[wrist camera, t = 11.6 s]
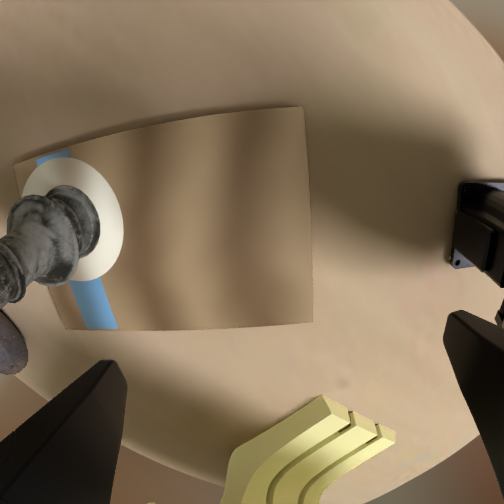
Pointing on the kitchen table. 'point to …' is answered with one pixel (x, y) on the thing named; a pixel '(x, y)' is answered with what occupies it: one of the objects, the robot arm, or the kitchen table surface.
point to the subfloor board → (189, 223)
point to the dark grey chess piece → (46, 240)
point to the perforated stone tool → (11, 348)
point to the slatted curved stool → (302, 455)
